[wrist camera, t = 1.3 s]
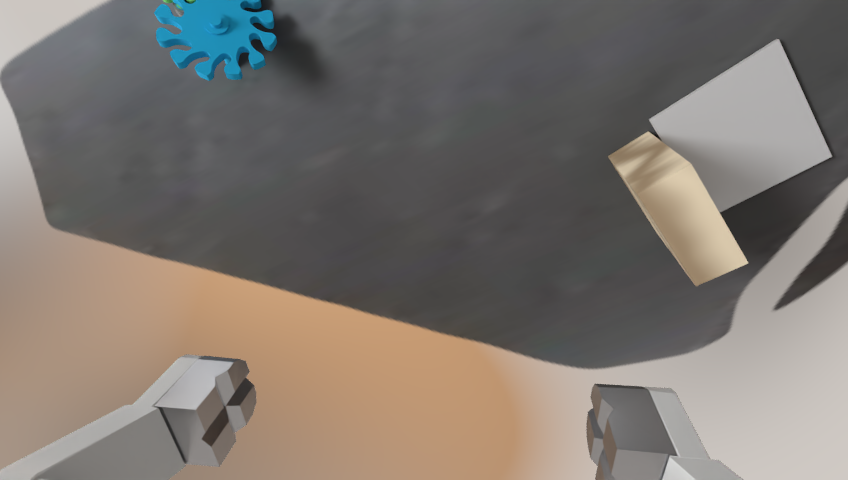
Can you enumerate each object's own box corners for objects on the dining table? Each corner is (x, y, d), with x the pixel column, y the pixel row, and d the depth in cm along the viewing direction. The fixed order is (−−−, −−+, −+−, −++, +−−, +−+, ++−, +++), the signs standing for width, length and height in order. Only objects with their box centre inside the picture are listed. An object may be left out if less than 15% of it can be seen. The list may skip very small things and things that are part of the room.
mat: (776, 39, 33) (779, 39, 33) (828, 155, 37) (832, 156, 36) (648, 119, 38) (650, 120, 37) (706, 216, 41) (707, 218, 41)
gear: (299, 24, 37) (216, 94, 34) (303, 64, 43) (232, 127, 40) (204, -57, 37) (111, 6, 34) (220, -6, 43) (143, 52, 40)
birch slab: (648, 131, 38) (691, 163, 29) (696, 211, 41) (748, 263, 32) (607, 156, 40) (637, 194, 31) (656, 232, 43) (695, 286, 34)
